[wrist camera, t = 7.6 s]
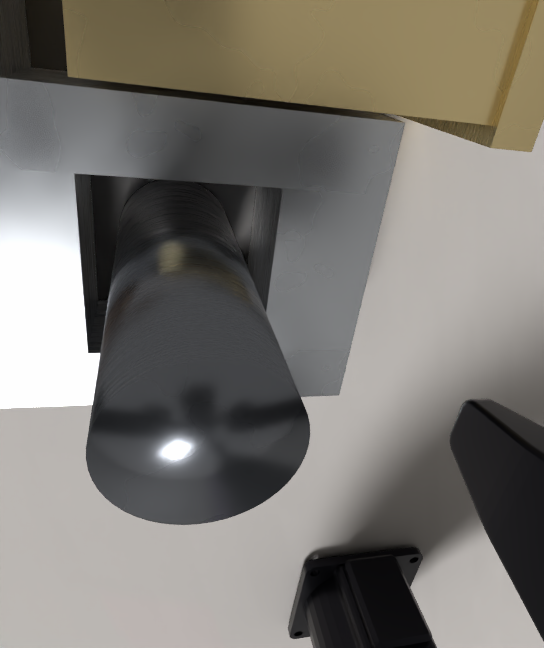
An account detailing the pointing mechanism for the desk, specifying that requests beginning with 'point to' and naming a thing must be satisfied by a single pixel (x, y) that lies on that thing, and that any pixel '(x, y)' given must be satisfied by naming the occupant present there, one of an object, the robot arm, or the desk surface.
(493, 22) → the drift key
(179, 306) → the peg
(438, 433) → the desk surface
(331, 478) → the desk surface
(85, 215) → the socket
